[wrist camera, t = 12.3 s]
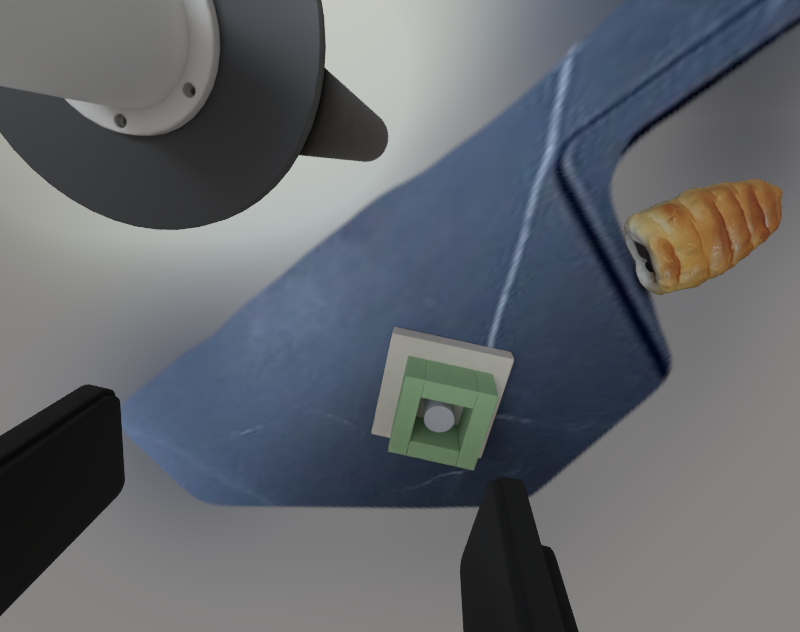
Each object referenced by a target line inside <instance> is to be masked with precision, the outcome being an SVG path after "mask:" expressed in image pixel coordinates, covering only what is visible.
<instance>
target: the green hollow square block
mask: <svg viewBox="0 0 800 632" xmlns="http://www.w3.org/2000/svg"><path fill="white" fill-rule="evenodd" d="M421 397H422V398H426V399H431V400H435V401H440V402H444V403H449V404H453V405H458V406H462V407H463V410H462V414H461V417H460V420H459V424H458V426H457V425H453V426H452V427H451V428H450V429H449V430H448V431H445V432H434V431H432V430H430V429H429V428H427V426H426V425H425V423H424V418H421V417H417V416H416V415H417V411H418V407H419V403H420V399H421ZM497 400H498V393H497V389H496V386H495V382H494V378H493V374H490V373H486V372H481V371H477V370H475V371H474V370H472V369H468V368H463V367H459V366H454V365H450V364H445V363H440V362H436V361H431V360H426V359H422V358H417V357H413V356H408V359H407V364H406V368H405V372H404V377H403V381H402V385H401V390H400V394H399V398H398V403H397V407H396V411H395V416H394V420H393V424H392V430H391V436H390V441H389V447H388V452H392V453H397V454H401V455H407V456H411V457H415V458H420V459H424V460H429V461H433V462H438V463H442V464H447V465H451V466H455V465H456V467H460V468H464V469H469V470H474V468H475V465H476V462H477V459H478V457H479V454H480V451H481V448H482V445H483V442H484V439H485V436H486V433H487V430H488V427H489V424H490V421H491V418H492V415H493V412H494V409H495V406H496V403H497Z"/></svg>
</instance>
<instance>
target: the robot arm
mask: <svg viewBox="0 0 800 632" xmlns="http://www.w3.org/2000/svg"><path fill="white" fill-rule="evenodd" d="M219 57H220V35H219V25H218V20H217V15H216V10H215V6H214V3H213V0H0V86H3V87H9V88H14V89H19V90H24V91H30V92H35V93H40V94H45V95H51V96H56V97H61V98H64V99H65V100H66V101H67V102H68V103H69V104H70V105H71V106H72V107H74V108H75V109H76V110H77V111H78V112H80V113H81V114H82V115H83V116H85V117H86V118H88V119H90V120H91V121H93V122H95V123H96V124H98V125H100V126H102V127H104V128H107V129H110V130H112V131H115V132H118V133H124V134H130V135H139V136H155V135H160V134H166V133H169V132H171V131H173V130H176V129H178V128H180V127H182V126H183V125H184V124H186V123H187V122H188V121H190V120H191V119H192V118H194V116H195V115H196V114H197V113H198V112H199V110H200V109H201V108H202V107H203V106H204V104H205V102H206V100H207V99H208V97H209V95H210V93H211V91H212V89H213V86H214V82H215V79H216V76H217V72H218V66H219ZM194 89H195V91H196V92H195V95H194ZM124 482H125V475H124V459H123V442H122V425H121V409H120V400H119V399H118V398H117V397H116V396H115V393H114V391H113V390H110V389H106V388H102V387H98V386H93V385H84V386H81V387H79V388H78V389H76V390H75V391H73V392H71V393H70V394H68V395H66V396H65V397H63V398H61V399H60V400H58V401H56V402H55V403H53V404H52V405H50V406H48V407H47V408H45V409H43V410H42V411H40V412H38V413H37V414H35V415H34V416H32V417H30V418H29V419H27V420H25V421H24V422H22V423H21V424H19V425H17V426H16V427H14V428H12V429H11V430H9V431H7V432H6V433H4V434H2V435H1V436H0V616H1V615H2V614H3V613H4V612H5V611H6V610H7V609H8V608H9V607H10V606H11V605H12V603H13V602H14V601H15V600H16V599H17V598H18V597H19V596H20V595H21V594H22V593H23V592H24V591H25V590H26V589H27V588H28V587H29V586H30V585H31V584H32V583H33V582H34V581H35V580H36V579H37V578H38V577H39V576H40V575H41V574H42V573H43V572H44V571H45V570H46V569H47V568H48V567H49V566H50V565H51V564H52V562H54V561H55V559H56V558H57V557H58V556H59V555H60V554H61V553H62V552H63V551H64V550H65V549H66V548H67V547H68V546H69V545H70V544H71V543H72V542H73V541H74V540H75V539H76V538H77V537H78V536H79V535H80V534H81V533H82V532H83V531H84V530H85V529H86V528H87V527H88V526H89V525H90V524H91V523H92V522H93V520H95V518H96V517H97V516H98V515H99V514H100V513H101V512H102V511H103V510H104V509H105V508H106V507H107V506H108V505H109V504H110V503H111V502H112V501H113V500H114V499H115V498H116V497H117V496H118V494H119V493H120V492H121V490H122V488H123V486H124ZM460 578H461V595H462V612H463V631H464V632H578V629H577V625H576V622H575V619H574V616H573V613H572V609H571V606H570V603H569V599H568V596H567V593H566V589H565V586H564V583H563V580H562V576H561V573H560V570H559V566H558V563H557V560H556V557H555V555H554V552H553V550H552V549H551V548H550V547H547V546H543V545H541V542H540V539H539V535H538V531H537V528H536V524H535V521H534V517H533V513H532V510H531V506H530V503H529V499H528V495H527V492H526V488H525V485H524V482H523V481H521V480H516V479H512V478H507V477H503V476H499V477H498V478H497V480H496V481H492V480H490V481H489V483H488V485H487V488H486V490H485V493H484V496H483V499H482V502H481V505H480V507H479V510H478V513H477V516H476V519H475V521H474V524H473V527H472V530H471V533H470V536H469V538H468V541H467V544H466V547H465V550H464V552H463V556H462V559H461V566H460Z"/></svg>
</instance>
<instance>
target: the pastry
mask: <svg viewBox="0 0 800 632" xmlns="http://www.w3.org/2000/svg"><path fill="white" fill-rule="evenodd" d="M781 198H782V190H781V189H780V188H779V187H777V186H775V185H772V184H770V183H767V182H765V181H762V180H759V179H750V180H745V181H740V182H721V183H719V184H715V185H711V186H708V187H703V188H691V189H688V190H686V191H684V192H682V193H681V194H680V195H679V196H677V197H676V198H673V199H671V200H669V201H664V202H661V203H659V204H655V205H654V206H651V207H650V208H647V209H645V210H642V211H640V212H638V213H635V214H633V215H632V216H630V217H629V218H628V219H627V221H626V223H625V227H624V229H625V239H626V244H627V247H628V249H629V250H630V252H631V255H632V256H633V258H634V259H635V261H636V273H637V276H638V278H639V281H640V283H641V284H642V285H643V286H644V287H645V288H646V289H647V290H649V291H651V292H653V293H655V294H658V295H662V294H664V293H670V292H672V291H678V290H681V289H688V288H693V287H697V286H699V285H700V284H702V283H704V282H705V281H707V280H708V279H711V278H714V277H716V276H718V275H721V274H723V273H724V272H725V271H727V270H728V269H730V268H732V267H734V266H735V265H736V264H737V263H738V262H739V261H740V260H742V259H744V258H745V257H746V256H748V255H749V254H750V252H751V251H752V250H754V249H755V248H756V247H757V246H759V245H760V244H761V243H763V242H764V241H766V240H767V239H768V237H769V236H770V235H771V234H772V233H773V232H774V231H776V230H777V229H778V226H779V224H780V220H781V215H782V212H781Z"/></svg>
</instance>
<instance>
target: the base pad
mask: <svg viewBox="0 0 800 632" xmlns="http://www.w3.org/2000/svg"><path fill="white" fill-rule="evenodd" d="M408 356H413V357H417V358H422V359H426V360H431V361H436V362H440V363H445V364H450V365H454V366H459V367H463V368H468V369H472V370H474V371H475V370H477V371H481V372H486V373H490V374H493V378H494V382H495V386H496V389H497V393H498V400H497V403H496V406H495V409H494V412H493V415H492V418H491V421H490V424H489V427H488V430H487V433H486V436H485V439H484V442H483V445H482V448H481V451H480V454H479V457H478V458H481V457H482V454H483V451H484V448H485V445H486V442H487V439H488V436H489V433H490V430H491V427H492V424H493V421H494V418H495V415H496V412H497V410H498V407H499V404H500V401H501V398H502V395H503V392H504V389H505V386H506V383H507V380H508V377H509V374H510V371H511V368H512V365H513V362H514V358H513V356H512V353H511V352H508V351H504V350H499V349H495V348H490V347H485V346H481V345H476V344H472V343H467V342H462V341H458V340H453V339H449V338H444V337H440V336H435V335H430V334H426V333H421V332H417V331H412V330H408V329H403V328H398V327H394V329H393V332H392V337H391V341H390V346H389V351H388V356H387V360H386V365H385V370H384V375H383V380H382V384H381V389H380V394H379V399H378V403H377V408H376V413H375V418H374V422H373V427H372V432H371V433H372V434H374V435H379V436H383V437H388V438H390V436H391V430H392V424H393V420H394V416H395V411H396V407H397V403H398V398H399V394H400V390H401V385H402V381H403V377H404V372H405V368H406V364H407V359H408ZM462 410H463V407H462V406H458V405H453V404H449V403H444V402H440V401H435V400H431V399H426V398H422V397H421V399H420V403H419V407H418V411H417V415H416V416H417V417H421V418H424V423H425V425H426V426H427V428H429V429H430V430H432V431H434V432H445V431H448V430H449V429H450V428H451V427H452V426H453V425H457V426H458V424H459V420H460V417H461V414H462Z"/></svg>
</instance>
